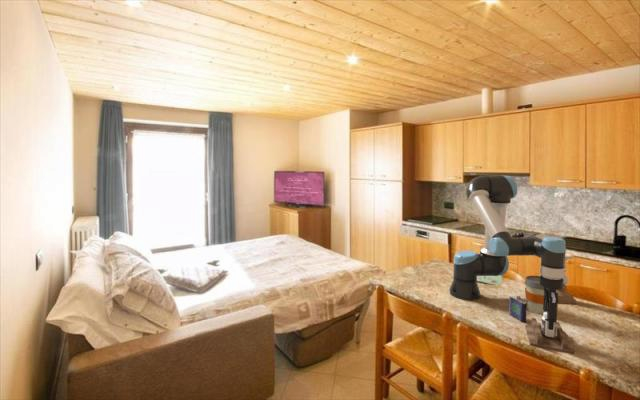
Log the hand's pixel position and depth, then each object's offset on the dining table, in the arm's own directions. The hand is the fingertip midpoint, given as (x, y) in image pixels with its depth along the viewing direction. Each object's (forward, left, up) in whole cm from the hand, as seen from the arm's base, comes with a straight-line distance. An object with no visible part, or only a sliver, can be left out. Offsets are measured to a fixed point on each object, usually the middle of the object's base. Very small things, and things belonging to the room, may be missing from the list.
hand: (548, 332), depth 129 cm
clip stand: (0, 0, -3) cm, 3 cm away
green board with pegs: (-21, +70, -4) cm, 73 cm away
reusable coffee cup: (+1, +30, -3) cm, 30 cm away
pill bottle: (0, 0, -1) cm, 1 cm away
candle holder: (+12, +49, -3) cm, 51 cm away
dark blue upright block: (-9, +16, -3) cm, 19 cm away
